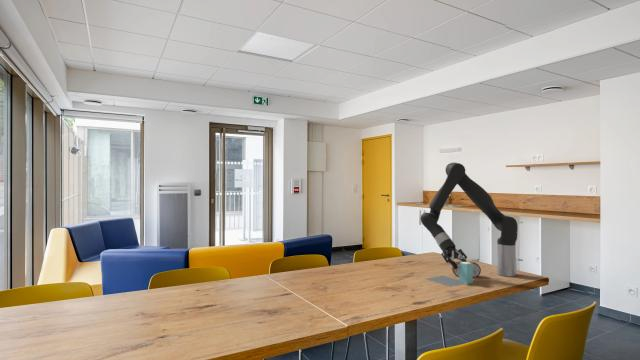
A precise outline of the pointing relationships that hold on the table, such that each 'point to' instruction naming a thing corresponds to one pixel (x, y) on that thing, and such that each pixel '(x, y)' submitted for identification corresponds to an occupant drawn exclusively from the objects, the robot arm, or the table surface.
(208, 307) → the table surface
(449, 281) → the mat
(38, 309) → the table surface
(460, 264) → the block
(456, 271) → the tin
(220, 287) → the table surface
